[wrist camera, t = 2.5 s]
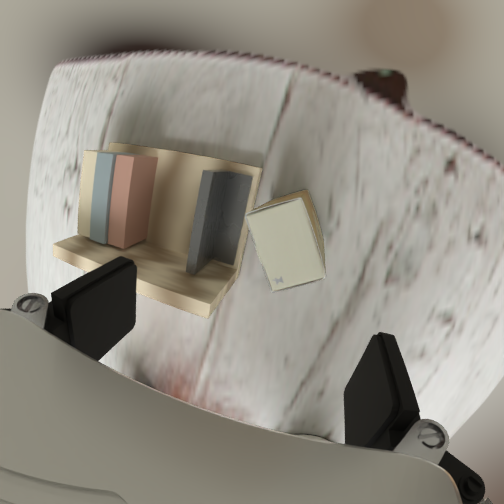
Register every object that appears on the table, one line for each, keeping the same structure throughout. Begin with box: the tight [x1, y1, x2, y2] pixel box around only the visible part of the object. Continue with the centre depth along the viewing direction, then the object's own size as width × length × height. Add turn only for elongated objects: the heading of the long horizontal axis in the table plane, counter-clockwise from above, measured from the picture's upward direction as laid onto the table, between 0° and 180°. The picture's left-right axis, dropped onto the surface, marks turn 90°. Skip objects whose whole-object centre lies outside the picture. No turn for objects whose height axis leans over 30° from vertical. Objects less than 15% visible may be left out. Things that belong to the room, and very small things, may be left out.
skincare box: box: [245, 189, 326, 293], centre depth 26 cm, size 6×4×12 cm
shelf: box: [53, 143, 263, 319], centre depth 29 cm, size 20×13×10 cm, turn 77°
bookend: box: [186, 169, 253, 275], centre depth 29 cm, size 4×10×6 cm, turn 167°
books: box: [78, 150, 158, 249], centre depth 31 cm, size 7×10×6 cm
